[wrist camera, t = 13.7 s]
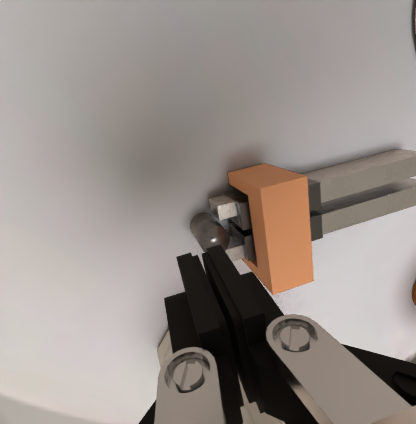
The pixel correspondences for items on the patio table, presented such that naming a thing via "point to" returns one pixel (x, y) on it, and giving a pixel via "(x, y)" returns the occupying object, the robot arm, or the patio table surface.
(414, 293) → the disposable coffee cup
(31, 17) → the patio table surface
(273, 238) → the collar
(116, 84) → the patio table surface
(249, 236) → the tongs arm
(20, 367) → the patio table surface
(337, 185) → the tongs fixed
